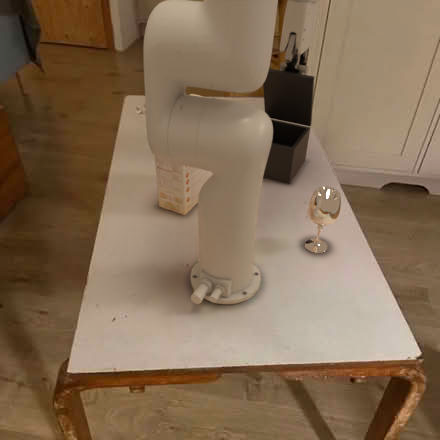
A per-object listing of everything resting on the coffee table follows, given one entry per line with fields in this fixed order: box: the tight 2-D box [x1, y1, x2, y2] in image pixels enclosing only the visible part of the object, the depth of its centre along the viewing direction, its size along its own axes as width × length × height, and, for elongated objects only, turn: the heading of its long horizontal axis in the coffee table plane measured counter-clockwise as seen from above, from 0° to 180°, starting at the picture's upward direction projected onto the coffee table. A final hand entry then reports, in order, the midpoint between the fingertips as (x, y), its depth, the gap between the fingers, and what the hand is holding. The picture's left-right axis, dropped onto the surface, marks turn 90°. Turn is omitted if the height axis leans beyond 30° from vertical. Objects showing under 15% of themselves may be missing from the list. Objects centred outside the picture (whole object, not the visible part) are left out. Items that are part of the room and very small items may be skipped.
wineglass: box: [304, 186, 342, 254], centre depth 84 cm, size 6×6×12 cm
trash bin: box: [263, 118, 311, 185], centre depth 107 cm, size 13×12×9 cm
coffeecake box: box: [154, 93, 214, 216], centre depth 94 cm, size 15×7×20 cm, turn 152°
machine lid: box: [262, 61, 315, 127], centre depth 103 cm, size 13×12×5 cm
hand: (293, 82), depth 102 cm, fingers open, 4 cm apart
